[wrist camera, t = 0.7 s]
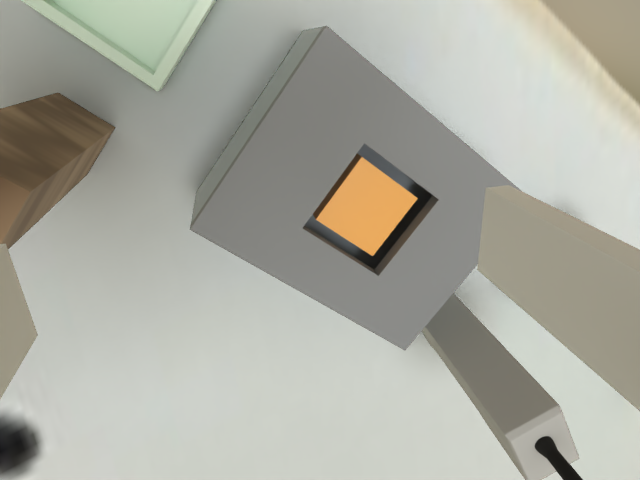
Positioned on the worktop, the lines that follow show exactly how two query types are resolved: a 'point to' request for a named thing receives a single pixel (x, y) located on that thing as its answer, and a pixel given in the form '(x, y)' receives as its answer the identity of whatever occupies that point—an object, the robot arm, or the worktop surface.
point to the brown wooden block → (43, 158)
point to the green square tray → (132, 30)
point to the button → (364, 205)
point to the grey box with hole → (323, 172)
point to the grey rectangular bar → (503, 394)
